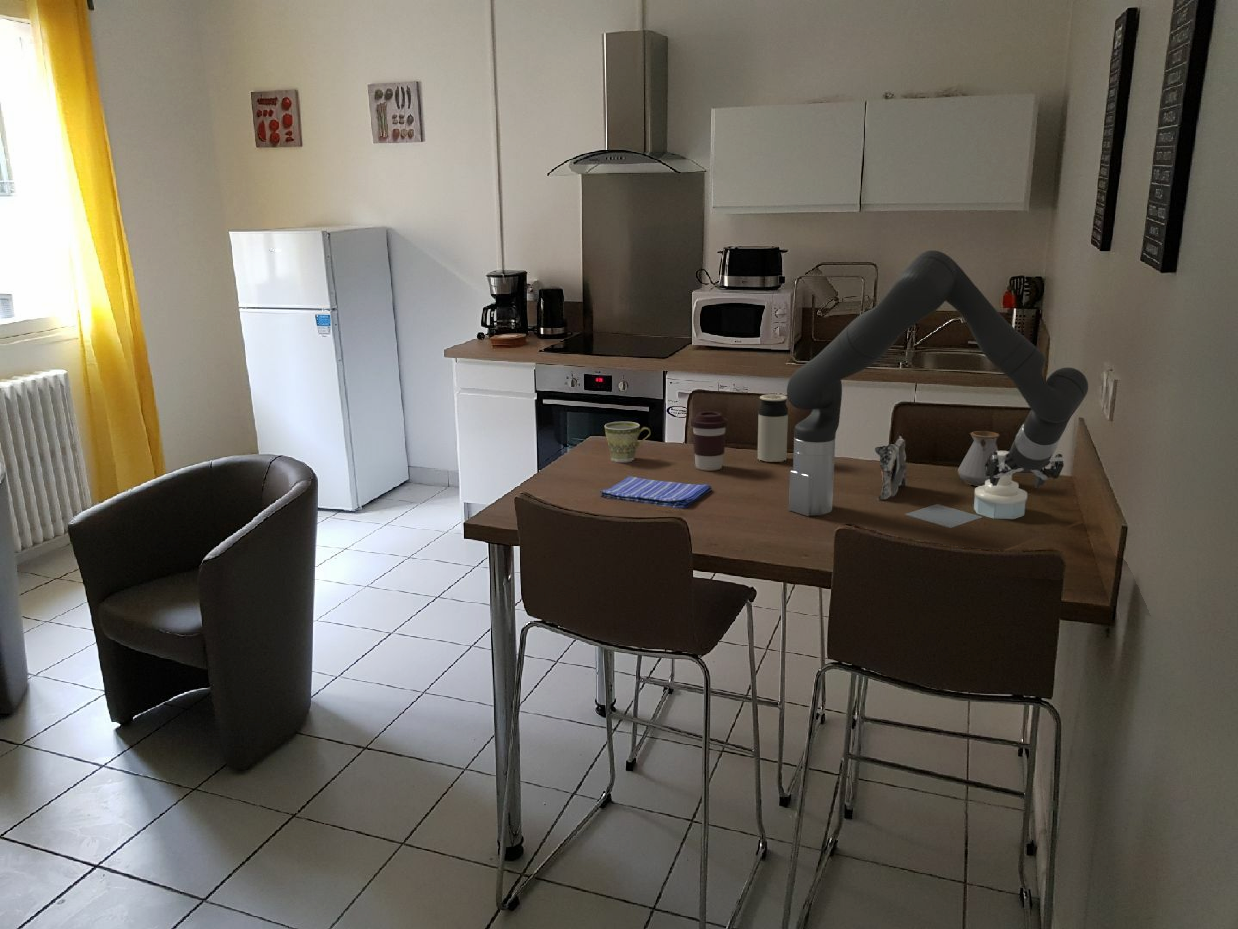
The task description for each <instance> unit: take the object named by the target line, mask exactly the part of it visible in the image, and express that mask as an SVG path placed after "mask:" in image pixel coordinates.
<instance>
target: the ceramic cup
mask: <svg viewBox="0 0 1238 929" xmlns="http://www.w3.org/2000/svg"><path fill="white" fill-rule="evenodd" d="M640 427H641V425H640V424H639V423H638V422H633V421H613V422H608V423H606V424H605V425H604V432H605V437H606V441H607V444H608V450H609V455H610V461H611V462H615V463H629V462H633V461H632V460H634V461H635V457H636V451H637V449H638V447H639V446H640V445H641V444H642V443H643V442H644V441H646V439H648V438H649V437H650V436H651V433H652V432H651V429H650V428H649V427H648V426H647V427H646V426H643V427H641V428H640ZM644 430H648V432H649V433H648V435H647V436H645V437H644V438H642V439H641V441H640V442H638V438H639V437H640V434H641V433H642V432H643V431H644Z"/></svg>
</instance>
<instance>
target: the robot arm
mask: <svg viewBox="0 0 1238 929" xmlns="http://www.w3.org/2000/svg"><path fill="white" fill-rule="evenodd" d="M944 303H947V304H948V305H950V306H951V307H953V308H954V309H955V310H956V311H957V312H958V313H959V315H960V316H961V317H962V319H963V320H964V321H965V323H966V325H967V327H968V328H969V330H970V332H971V335H972V336H973V338H974V340H975V342H976V345H977V346H978V348H979V350H981V353H982V354H983V355H984V356H985V358H986V359H987V360H988V361H989V362H991V364H992V365H993V366H995V367H996V368H997V369H998V370H1000V372H1002V373H1003V374H1004V375H1005V376H1006V377H1008V378H1009V379H1010V380H1011V381H1012V383H1013V384H1014V385H1015V387H1016V389H1017V390H1018V392H1019V393H1020V395H1021V396H1022V398H1023V399H1024V401H1025V402H1026V403H1027V405H1028V406H1029V408H1030V411H1029V412H1028V414H1027V417H1026V418H1025V420H1024V422H1023V424H1022V425H1021V426H1020V428H1019V429H1018V432H1017V434H1016V435H1015V439H1014V440H1013V442H1012V444H1011V447H1010V450H1009V453H1008V454H1006V455H1005V456H1000V455H998V453H997V452H992V453H991V455H990V456H989V458H988V460H987V462H986V463H985V474H986V476H990V483H992V485H993V486H997V483H998V481H999V479H1000V477H1002V476H1004V475H1006V476H1009V475H1011V474H1012V475H1013V474H1015V473H1025V474H1026V473H1027V474H1032V473H1033V474H1034V475H1035V476H1034V478H1033V483H1034V488H1037V489H1038V488H1040V487H1041V486H1043V485H1044V483H1045V482H1046V481H1047V480H1049V479H1050V478H1052V479H1053V480H1056V479H1059V477H1060V474H1061V472H1062V471H1063V468H1064V466H1065V464H1064V459H1063V458H1064V457H1063V454H1062V453H1057V454H1056V455H1055V456H1054V457H1053V455H1054V453H1055V451H1056V450H1057V448H1058V446H1059V444H1060V441H1061V437H1062V436H1063V434H1064V432H1065V431H1066V428H1067V425H1068V423H1069V421H1070V420H1071V418H1072V417H1073V415H1074V414H1075V412H1076V411H1077V410H1078V408H1079V407H1080V405H1081V404H1082V402H1083V401H1084V399H1085V398H1086V397H1087V394H1088V393H1089V392H1088V391H1089V382H1088V379H1087V377H1086V376H1085V374H1084V373H1083V372H1082V371H1080V370H1079V369H1076V368H1074V367H1067V366H1066V367H1061V368H1059V369H1056V370H1055V371H1053V372H1052V373H1050V375H1049V376H1048V377H1047V379H1045V377H1044V375H1043V369H1044V366H1045V363H1046V355H1045V354H1044V353H1043V352H1042V351H1041V350H1040V349H1039V348H1038V347H1037V346H1036V345H1035V344H1033V343H1032V342H1031V341H1030V340H1029V339H1028V338H1026V337H1025V336H1024V335H1023V334H1021V333H1020V332H1019V331H1018V330H1017V329H1015V327H1014V326H1012V325H1011V324H1010V322H1008V320H1006V319H1005V318H1004V316H1003V315H1001V313H1000V312H999V311H998V310H997V309H996V308H995V307H994V306H993V304H992V303H991V302H990V301H989V300H988V299H987V297H986V296H985V295H984V294H983V293H982V292H981V290H980V289H979V288H978V287H977V285H975V283H974V281H972V280H971V278H970V277H969V276H968V275H967V274H966V272H965V271H964V270H963V269H962V267H960V265H959V264H958V263H957V262H956V261H954V259H953V258H952V257H950V256H949V255H948V254H946V253H944V252H942V251H939V250H926V251H923V252H922V253H920V254H919V255H918V256H917V257H915V259H914V260H913V261H912V262H911V263H910V264H909V265H908V267H906V269H905V270H904V271H903V272H902V273H901V274H900V275H899V277H898V278H897V280H896V281H895V283H894V284H893V285H892V287H891V288H890V289H889V291H888V292H887V293H886V295H885V296H883V298H882V299H881V300H880V302H878V304H877V305H875V306H874V307H873V308H870V309H869V310H866V311H865V312H862V313H861V314H859V315H858V316H857V317H856V318H854V319H853V320H851V322H849V324H847V326H846V327H845V328H843V330H842V331H841V332H840V333H838V335H837V336H836V337H835V338H834V339H833V340H832V341H831V342H830V343H829V344H828V345H826V346H825V347H824V348H823V349H822V350H821V351H820V352H819V353H818V354H817V355H816V356H814V357H813V358H812V359H810V360H809V361H808V362H806V363H805V364H804V365H802V366H800V367H799V368H798V369H797V370H795V371H794V372H793V373H792V375H791V376H790V378H789V380H788V382H787V387H786V396H787V400H788V402H789V403H790V405H791V406H792V407H794V408H795V409H799V410H803V411H808V410H812V411H811V413H810V414H809V415H808V416H807V417H806V418H804V419H803V420H801V421H799V422H798V423H797V424H795V427H794V432H793V460H792V461H793V462H792V464H793V465H792V470H790V471H789V486H788V487H789V490H788V511H791V512H794V513H797V514H799V515H803V516H805V517H810V516H823V515H825V514H828V513H831V512H832V511H833V499H834V498H833V496H834V495H833V494H834V493H833V492H834V479H835V478H834V476H835V475H834V474H835V472H834V471H835V451H836V435H837V431H838V428H839V425H840V419H841V408H842V406H841V405H842V400H843V399H842V396H843V384H842V380H843V379H845V378H848V377H851V376H853V375H855V374H857V373H860V372H862V371H864V370H865V369H868V368H869V367H870V366H872V365H873V364H874V363H876V362H877V361H878V360H879V359H880V358H881V357H883V356H884V355H885V354H886V353H887V352H888V351H889V350H890V349H891V347H893V345H894V344H895V343H896V342H897V341H898V340H899V338H900V337H901V336H902V335H903V334H904V333H905V332H906V331H907V330H908V329H910V328H912V327H913V326H914V325H917V323H919V322H920V321H921V320H923V319H926V317H928V316H931V314H933V313H934V312H936V311H937V310H938V309H940V307H941V306H942V305H943V304H944ZM1049 465H1050V468H1047V467H1048V466H1049ZM1008 467H1009V468H1010V469H1009V468H1008ZM1000 468H1002V470H1001V471H999V469H1000Z"/></svg>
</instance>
